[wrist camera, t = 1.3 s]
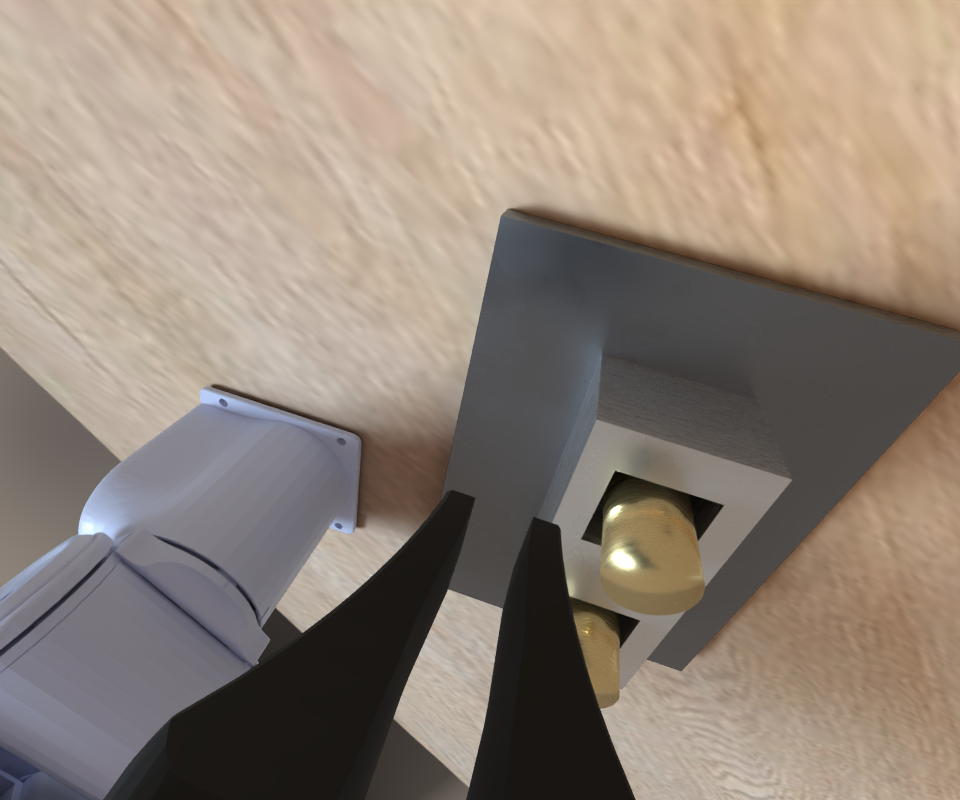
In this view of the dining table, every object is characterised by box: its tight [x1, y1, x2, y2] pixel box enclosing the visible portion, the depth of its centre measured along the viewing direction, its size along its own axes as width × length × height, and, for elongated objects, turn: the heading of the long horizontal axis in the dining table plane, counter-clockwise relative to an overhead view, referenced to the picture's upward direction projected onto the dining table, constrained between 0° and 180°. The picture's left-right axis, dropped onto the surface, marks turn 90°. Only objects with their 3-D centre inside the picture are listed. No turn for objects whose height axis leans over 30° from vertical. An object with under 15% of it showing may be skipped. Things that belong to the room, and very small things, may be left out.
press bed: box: [440, 209, 960, 671], centre depth 23 cm, size 16×22×1 cm
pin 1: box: [569, 596, 620, 709], centre depth 20 cm, size 3×3×4 cm
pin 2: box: [600, 471, 705, 616], centre depth 16 cm, size 3×3×4 cm
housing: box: [537, 355, 792, 689], centre depth 20 cm, size 6×14×4 cm, turn 169°
